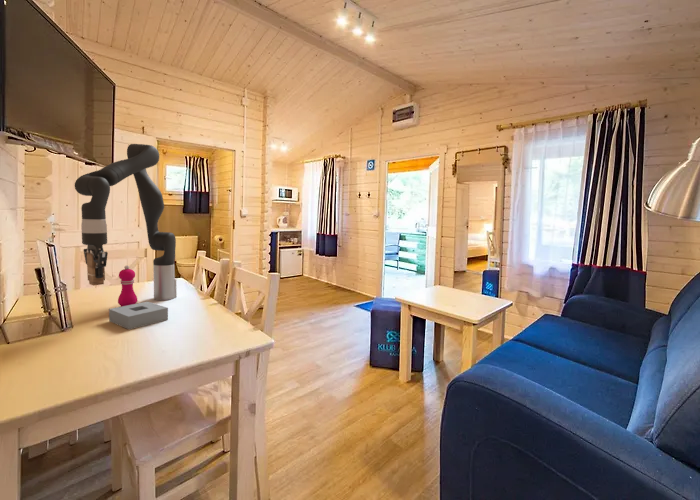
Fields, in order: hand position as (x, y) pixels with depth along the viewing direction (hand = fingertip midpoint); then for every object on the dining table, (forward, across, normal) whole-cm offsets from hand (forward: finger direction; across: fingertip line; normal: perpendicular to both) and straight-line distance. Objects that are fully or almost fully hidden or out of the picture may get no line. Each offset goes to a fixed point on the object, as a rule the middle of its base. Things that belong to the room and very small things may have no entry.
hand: (96, 276), depth 129 cm
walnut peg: (+3, 0, 0) cm, 3 cm away
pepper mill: (+19, +12, -16) cm, 28 cm away
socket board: (+19, -5, -12) cm, 23 cm away
